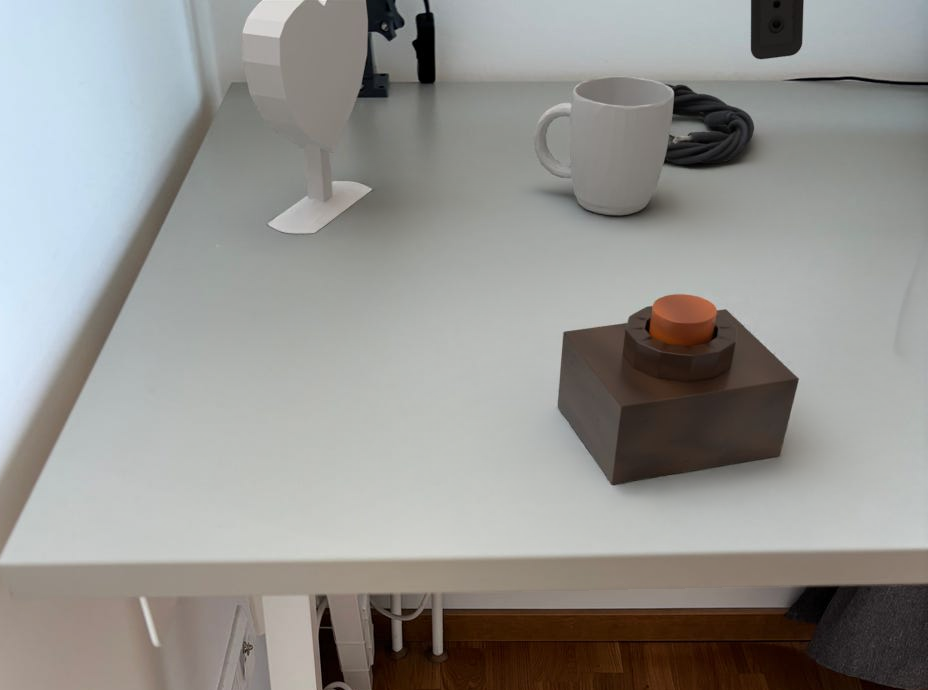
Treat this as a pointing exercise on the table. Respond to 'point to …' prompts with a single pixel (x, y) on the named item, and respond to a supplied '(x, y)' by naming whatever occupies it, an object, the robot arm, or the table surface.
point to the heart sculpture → (308, 91)
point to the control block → (673, 398)
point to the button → (683, 320)
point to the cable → (708, 143)
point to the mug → (612, 141)
